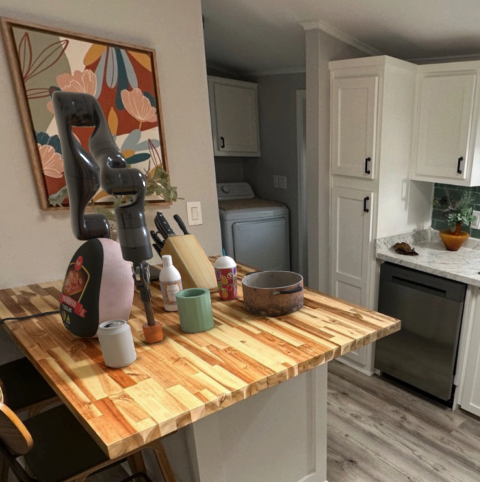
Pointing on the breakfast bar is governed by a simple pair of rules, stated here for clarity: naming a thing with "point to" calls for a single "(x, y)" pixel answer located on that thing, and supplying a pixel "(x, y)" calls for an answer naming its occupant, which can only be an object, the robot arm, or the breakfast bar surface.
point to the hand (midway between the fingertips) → (146, 299)
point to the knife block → (184, 254)
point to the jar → (194, 310)
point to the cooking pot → (272, 292)
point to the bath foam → (169, 283)
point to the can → (116, 343)
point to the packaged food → (96, 288)
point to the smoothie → (226, 277)
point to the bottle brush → (151, 325)
